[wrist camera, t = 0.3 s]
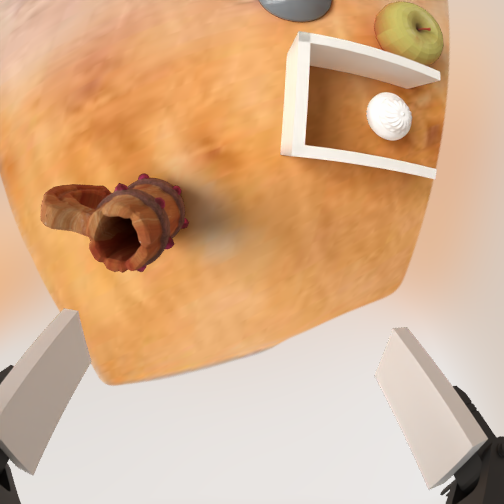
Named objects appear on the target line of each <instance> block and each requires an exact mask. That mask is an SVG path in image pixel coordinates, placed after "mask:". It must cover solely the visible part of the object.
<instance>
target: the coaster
mask: <svg viewBox="0 0 504 504" xmlns="http://www.w3.org/2000/svg"><path fill="white" fill-rule="evenodd" d="M259 2H260V4H261V5H262V6H263V7H264V8H265V9H266V10H267V11H268V12H270V13H271V14H273V15H275V16H277V17H279V18H281V19H284V20H288V21H293V22H308V21H313V20H316V19H318V18H320V17H322V16H323V15H324V14H325V13H326V12H327V11H328V9H329V8H330V6H331V0H259Z"/></svg>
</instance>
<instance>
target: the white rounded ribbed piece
mask: <svg viewBox="0 0 504 504" xmlns="http://www.w3.org/2000/svg"><path fill="white" fill-rule="evenodd" d="M366 113H367V115H366V116H367V120H368V124H369V125H370V128H372V130H373V131H374V132H375V133H376V134H377V135H379V136H380V137H382V138H384V139H386V140H392V141H393V140H398V139H401V138H402V137H404V136H405V135H406V134H407V133H408V131H409V130H410V127H411V119H412V116H411V111H410V110H409V107H408V106H407V105H406V103H405V102H404V101H403V100H402V99H401V98H400V97H399V96H397V95H395V94H393V93H388V92H384V93H380V94H377V95H376V96H374V97H373V98H372V99H371V101H370V102H369V104H368V106H367V111H366Z"/></svg>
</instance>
